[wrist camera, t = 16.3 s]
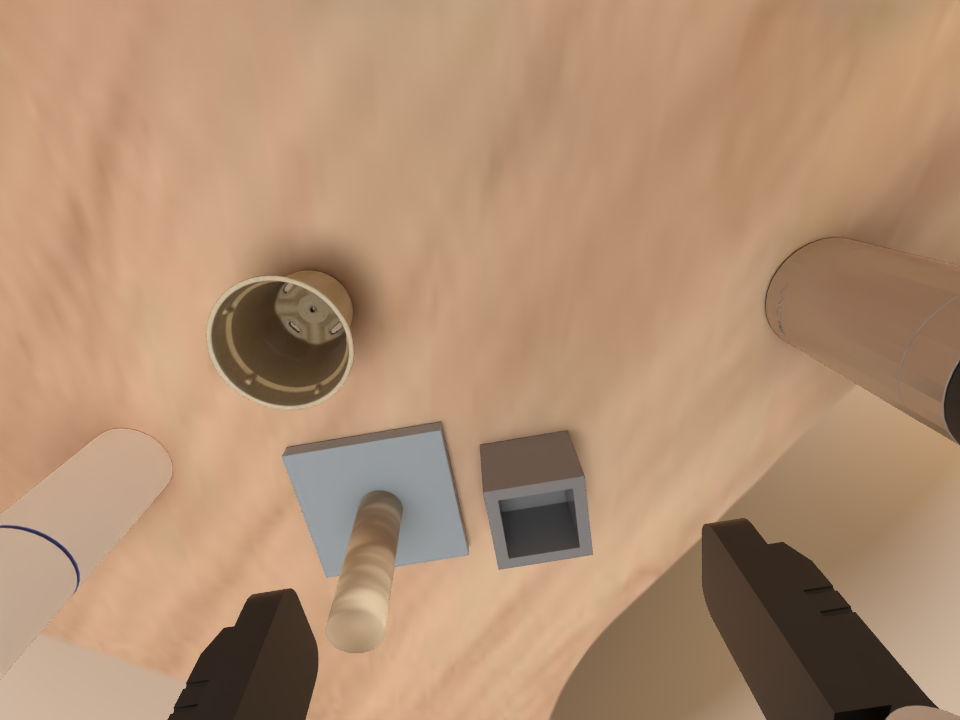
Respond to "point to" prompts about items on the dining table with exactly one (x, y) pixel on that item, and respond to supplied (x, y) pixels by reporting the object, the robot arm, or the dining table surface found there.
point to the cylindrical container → (71, 529)
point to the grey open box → (535, 500)
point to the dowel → (366, 575)
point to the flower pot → (283, 339)
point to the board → (380, 467)
